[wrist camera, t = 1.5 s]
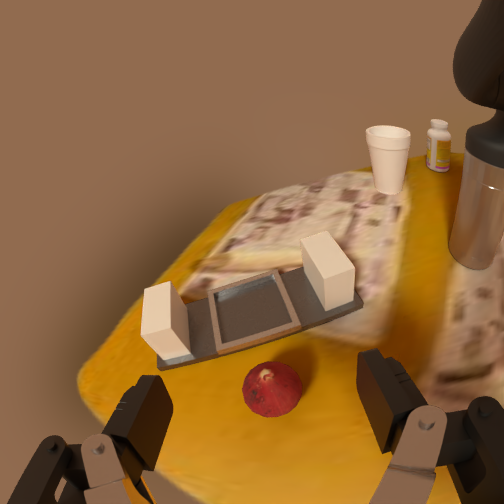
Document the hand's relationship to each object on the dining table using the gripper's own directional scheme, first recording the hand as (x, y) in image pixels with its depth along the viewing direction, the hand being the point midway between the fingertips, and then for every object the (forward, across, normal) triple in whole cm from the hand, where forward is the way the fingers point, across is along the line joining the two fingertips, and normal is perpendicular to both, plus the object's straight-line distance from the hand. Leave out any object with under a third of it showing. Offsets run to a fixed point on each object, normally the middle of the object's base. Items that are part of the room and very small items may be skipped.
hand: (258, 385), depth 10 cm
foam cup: (+48, -30, -3) cm, 57 cm away
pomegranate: (+14, 0, +15) cm, 21 cm away
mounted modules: (+25, +2, +9) cm, 27 cm away
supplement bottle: (+53, -49, -7) cm, 73 cm away
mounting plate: (+26, +2, +10) cm, 27 cm away
